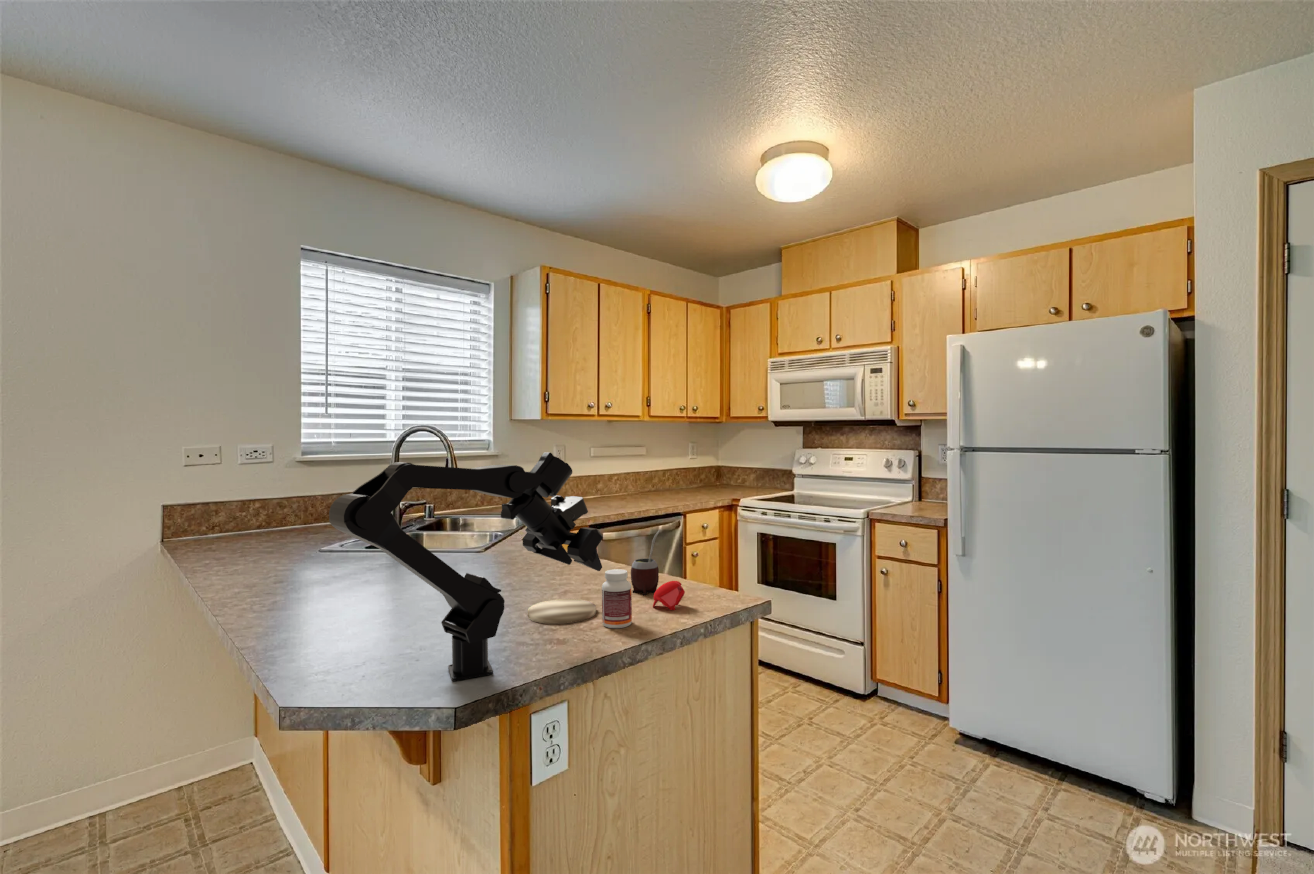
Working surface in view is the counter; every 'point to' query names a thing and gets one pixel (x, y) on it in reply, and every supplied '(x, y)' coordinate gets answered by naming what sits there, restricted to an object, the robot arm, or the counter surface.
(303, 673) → the counter surface
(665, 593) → the cap
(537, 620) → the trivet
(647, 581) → the mate gourd
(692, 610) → the counter surface
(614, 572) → the pill bottle
